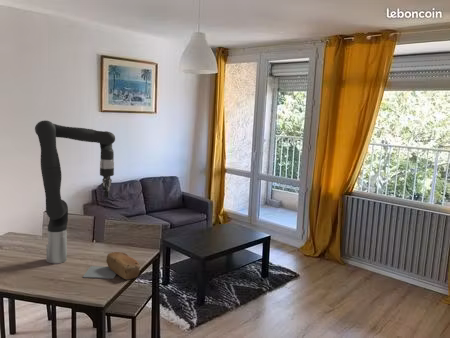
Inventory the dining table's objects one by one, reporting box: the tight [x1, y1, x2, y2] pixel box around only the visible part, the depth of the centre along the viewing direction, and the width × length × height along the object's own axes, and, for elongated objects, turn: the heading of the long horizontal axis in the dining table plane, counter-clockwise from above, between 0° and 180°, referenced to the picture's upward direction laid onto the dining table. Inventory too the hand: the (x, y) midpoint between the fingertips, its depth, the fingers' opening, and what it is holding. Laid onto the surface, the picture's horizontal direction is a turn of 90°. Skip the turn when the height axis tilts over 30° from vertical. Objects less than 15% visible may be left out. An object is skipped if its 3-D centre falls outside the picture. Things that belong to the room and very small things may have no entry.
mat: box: [82, 265, 117, 280], centre depth 191 cm, size 15×13×1 cm
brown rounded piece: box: [106, 251, 141, 281], centre depth 193 cm, size 11×8×20 cm
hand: (106, 197), depth 213 cm, fingers closed
